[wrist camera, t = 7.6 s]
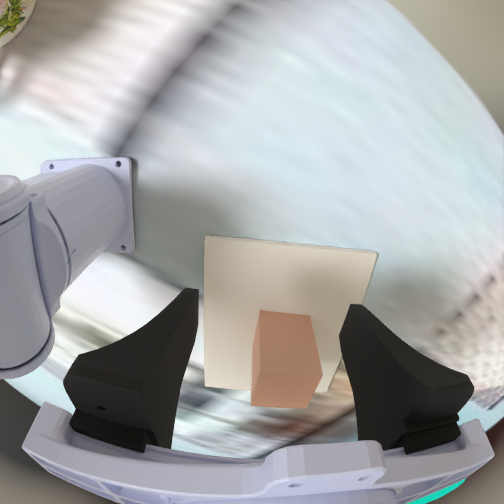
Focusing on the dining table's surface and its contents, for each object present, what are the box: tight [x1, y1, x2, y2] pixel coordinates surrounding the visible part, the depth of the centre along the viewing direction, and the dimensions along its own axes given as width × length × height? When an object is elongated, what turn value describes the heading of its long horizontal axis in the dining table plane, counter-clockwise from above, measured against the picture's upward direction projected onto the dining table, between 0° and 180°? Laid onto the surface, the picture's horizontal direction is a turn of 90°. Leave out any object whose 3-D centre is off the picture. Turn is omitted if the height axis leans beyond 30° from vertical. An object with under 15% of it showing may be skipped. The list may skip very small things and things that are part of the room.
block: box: [251, 310, 323, 408], centre depth 23 cm, size 4×4×7 cm
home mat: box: [204, 235, 377, 392], centre depth 26 cm, size 14×18×1 cm
